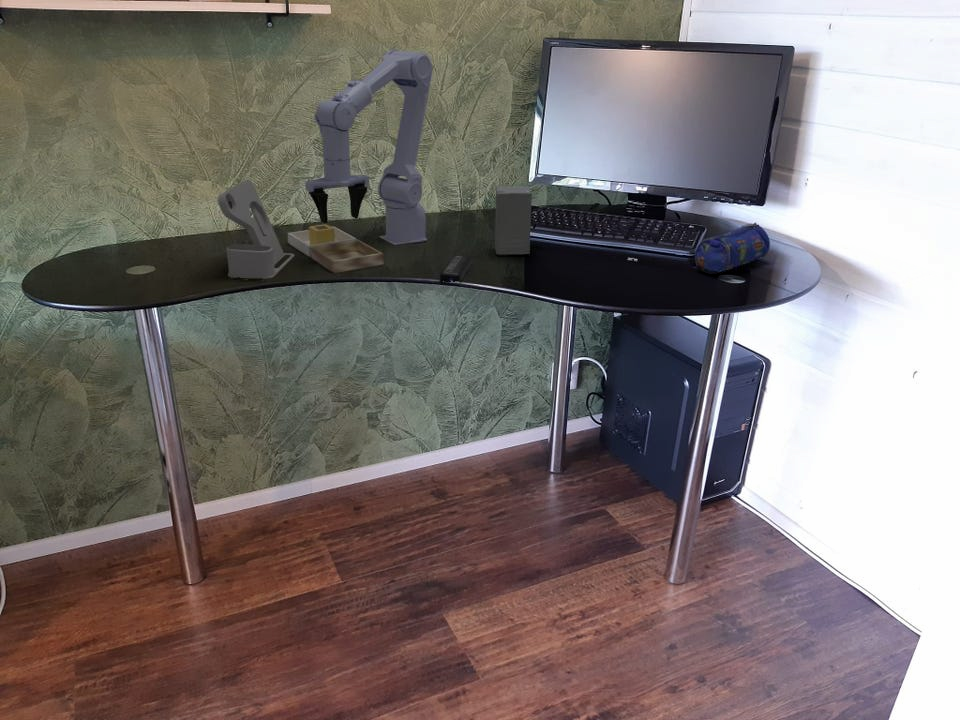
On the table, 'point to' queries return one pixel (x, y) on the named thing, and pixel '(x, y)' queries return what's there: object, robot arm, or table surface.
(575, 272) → the table surface
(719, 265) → the pencil case
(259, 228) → the phone holder
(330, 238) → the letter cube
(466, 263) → the multiport hub
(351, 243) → the birch box
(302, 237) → the white tub
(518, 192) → the skincare box
